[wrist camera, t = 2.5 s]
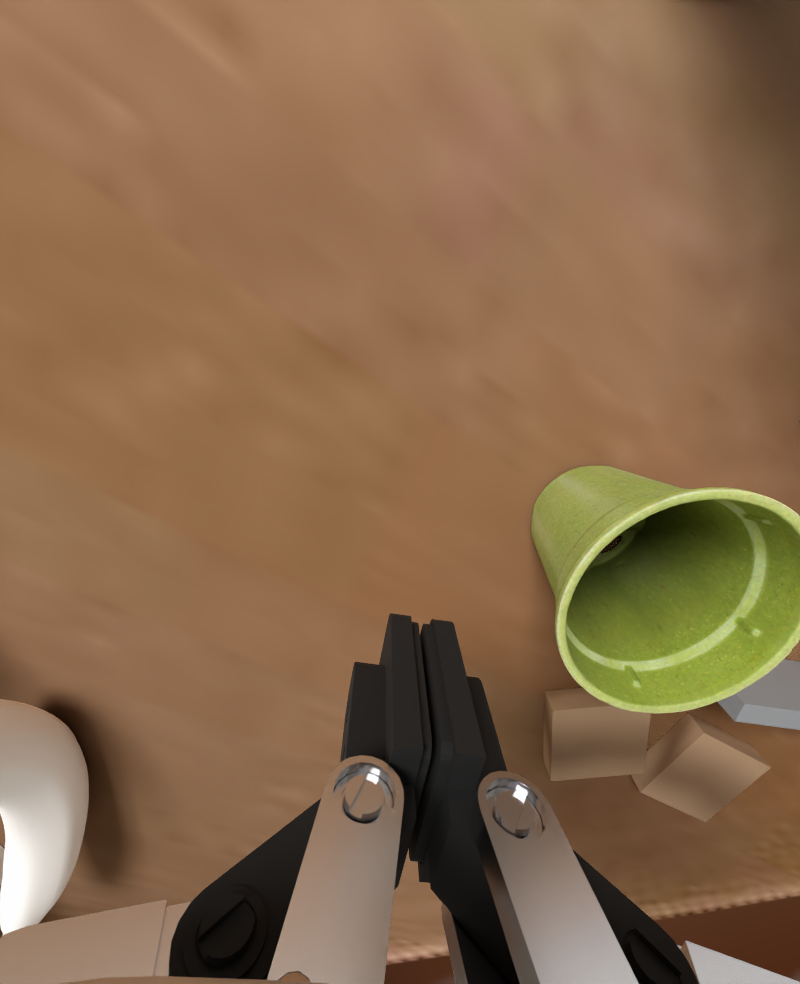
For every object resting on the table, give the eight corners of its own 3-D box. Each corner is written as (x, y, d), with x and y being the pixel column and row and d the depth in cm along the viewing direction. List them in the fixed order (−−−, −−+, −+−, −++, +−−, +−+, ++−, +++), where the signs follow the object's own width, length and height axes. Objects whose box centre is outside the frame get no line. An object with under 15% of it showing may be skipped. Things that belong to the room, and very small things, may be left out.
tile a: (541, 685, 28) (552, 710, 26) (635, 677, 28) (652, 702, 26) (541, 753, 30) (551, 781, 28) (627, 746, 30) (643, 773, 28)
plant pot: (707, 510, 23) (876, 602, 15) (575, 620, 26) (661, 751, 18) (597, 394, 21) (727, 429, 13) (464, 526, 24) (503, 626, 15)
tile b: (683, 707, 29) (704, 733, 27) (747, 740, 30) (771, 767, 28) (624, 764, 30) (639, 792, 29) (686, 793, 32) (705, 822, 30)
